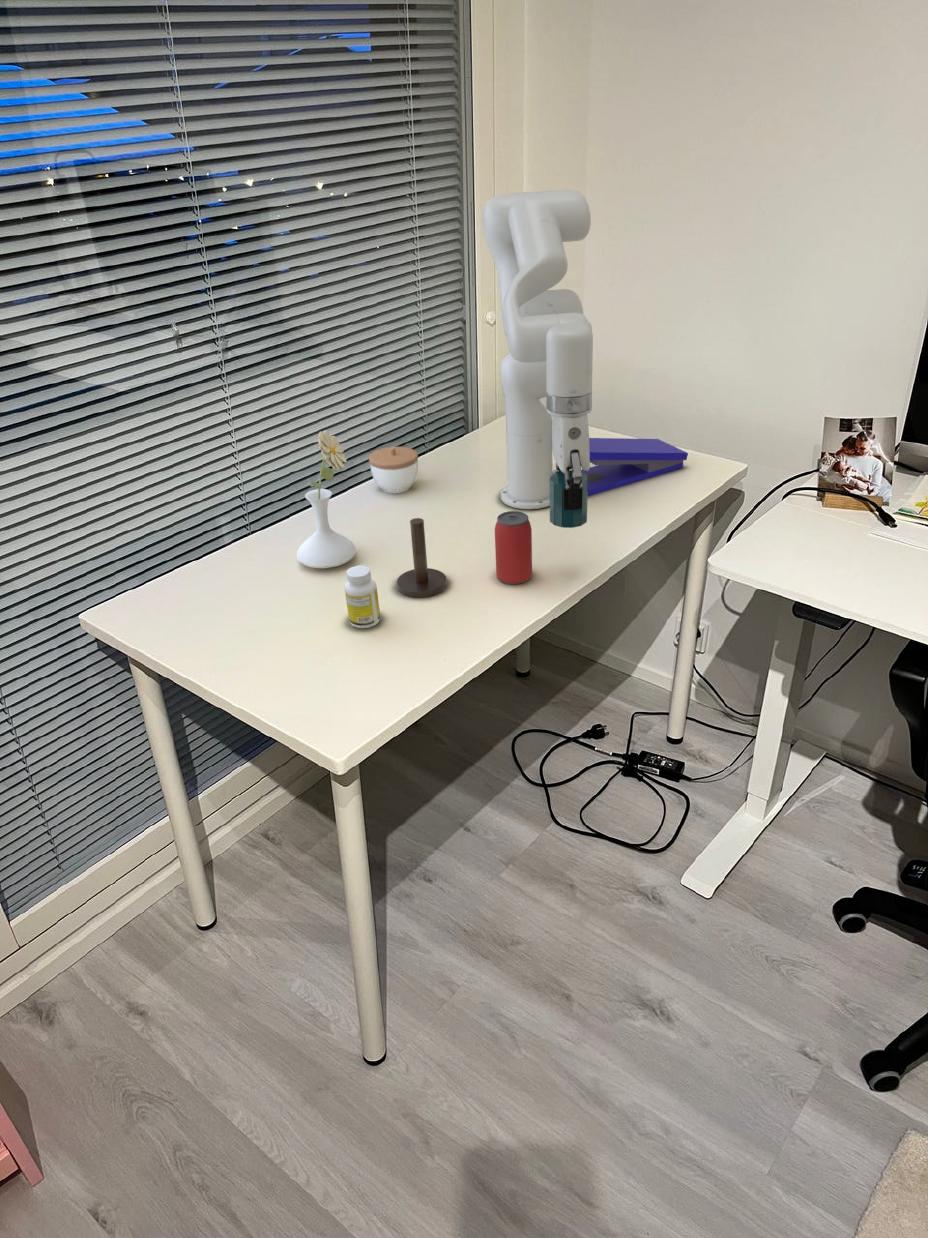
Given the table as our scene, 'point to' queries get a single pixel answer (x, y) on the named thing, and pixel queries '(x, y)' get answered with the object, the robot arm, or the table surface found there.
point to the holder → (420, 568)
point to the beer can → (513, 547)
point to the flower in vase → (325, 515)
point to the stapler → (629, 461)
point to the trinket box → (394, 468)
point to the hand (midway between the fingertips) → (568, 499)
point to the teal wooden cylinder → (556, 503)
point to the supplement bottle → (361, 598)
